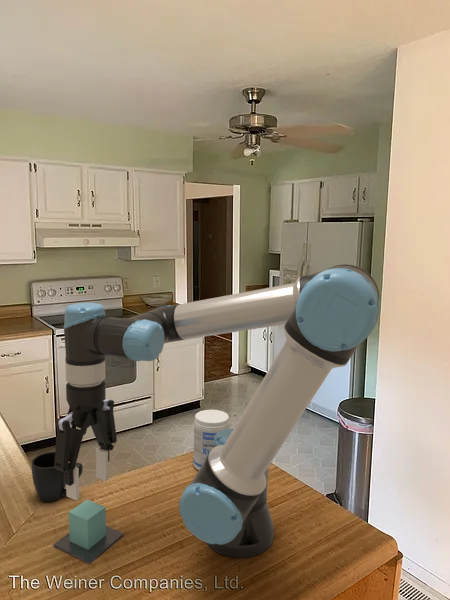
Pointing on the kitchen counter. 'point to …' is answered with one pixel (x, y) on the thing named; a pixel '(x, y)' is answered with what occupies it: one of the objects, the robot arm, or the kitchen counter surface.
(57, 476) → the mug
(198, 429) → the supplement tub
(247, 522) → the robot arm
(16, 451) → the kitchen counter surface
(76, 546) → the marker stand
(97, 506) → the teal rectangular block
